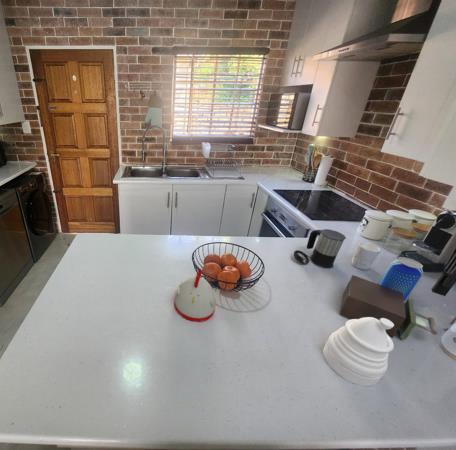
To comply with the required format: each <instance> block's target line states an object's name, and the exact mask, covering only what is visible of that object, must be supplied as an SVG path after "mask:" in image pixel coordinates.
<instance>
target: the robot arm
mask: <svg viewBox="0 0 456 450" xmlns="http://www.w3.org/2000/svg"><path fill="white" fill-rule="evenodd" d="M455 284H456V244H455V245H454V247H453V249H452V251H451V253H450V254H449V256H448V257H447V260H446V261H445V262H444V268H443V270H442V272H441V275H439V277H438V279H437V280H436V282H435V283H434V285H432V287H431V289H430V290H431V293H434V294H437V295H440V296H443V297H446V296H447V294H449V292H450V291H451V289H452V288H453V286H454V285H455Z"/></svg>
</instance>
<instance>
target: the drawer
mask: <svg viewBox="0 0 456 450" xmlns="http://www.w3.org/2000/svg"><path fill="white" fill-rule="evenodd" d="M414 304H415V303H414V300H413V299H412V298H410V297H407V299H406V300H405V302H404V305H405V315H406V319H405V320H404V322H403V323H402V325H401V326H400V328H399V338H401V339H403V340H407V338H408V337H409V336H410V334H411V332H412V331H413V330H414V329H415V327H417V328H421V329H423V330H425V331H428V332H430V334H431V335H434V336H437V335H438V334H439V332H438V328H437V325H436V320H435V317H433V316H429V317H428V316H427V315H423V314H421V313H418V312H416V311H415V305H414ZM416 316H417V317H419V318H422V319H424V320H427V322H428V326H429V327H426V326H424V325H421V324H419V323H417V319H416V318H417V317H416Z"/></svg>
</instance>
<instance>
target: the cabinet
mask: <svg viewBox="0 0 456 450" xmlns="http://www.w3.org/2000/svg"><path fill="white" fill-rule="evenodd" d="M404 303H405V302H404V296H403V293H402V292H399V291H397V290H394V289H391V288H388V287H385V286H382V285H380V284H379V283H377V282H374V281H371V280H368V279H366V278H362V277H360V276H357V275H354V274H352V275H351V277H350V279H349V281H348V282H347V285H346V287H345V289H344V291H343V295H342V299H341V305H340V309H339V312H338V315H339V316H342V317H344V318H346V319H348V320H350V319H360V318H365V317H373V318H376V319H378V320H379V321H380V319H381V318H385V319H388V320H390V321H391V322H392V323H393V324H394V326H393V327H392V328H391V329H385V331H386V333H387V334H388V336H389V337H390V338H391V339H393V338H394V336H395V335H396V333H397V332H398V330H400V326H401V325H402V323H403V322H404V320H405V319H406V315H405V305H404Z"/></svg>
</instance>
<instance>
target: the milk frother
mask: <svg viewBox="0 0 456 450" xmlns="http://www.w3.org/2000/svg"><path fill="white" fill-rule="evenodd" d="M317 237H318V239H317ZM346 238H347V237H346V235H344V234H343V233H341V232H339V231H336V230H334V229H329V228H325V229H324V228H323V229H314V230H312V231H311V232H310V233H309V236H308V239H307V244H306V249H308V250H312V249H313V251H312V254H311V256H309V255H307V253H305V252H304V251H302V250H300V249H296V250H294V252H293V257H294V259H295V261H296V262H297V263H299V264H301V265H309V263H310V261H311V262H312V263H313V264H314V265H316V266H318V267H320V268H326V269H331V268H333V267H334V263H335V261H336V258H337V256H338V254H339V252H340V250H341V247H342V245H343V243H344V241H345V240H347V239H346ZM316 241H317V242H316ZM315 243H316V244H315ZM301 255H302V256H303V257H304V258H303V257H302V256H301ZM305 260H306V261H305Z"/></svg>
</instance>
